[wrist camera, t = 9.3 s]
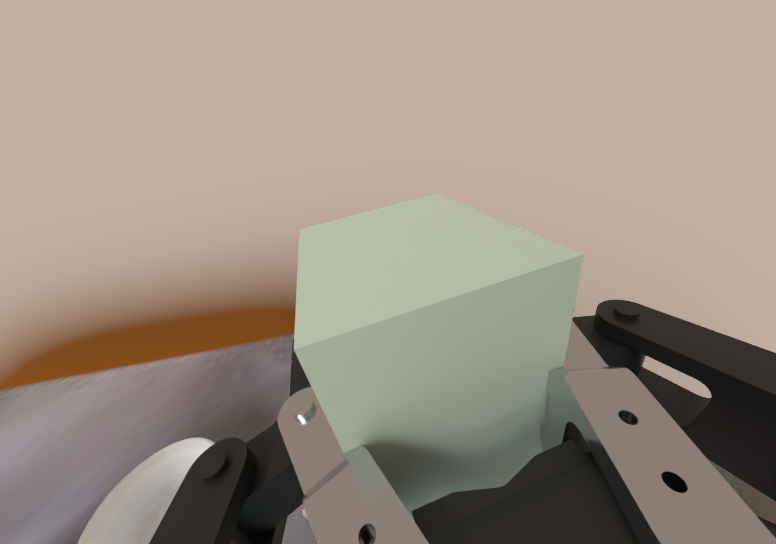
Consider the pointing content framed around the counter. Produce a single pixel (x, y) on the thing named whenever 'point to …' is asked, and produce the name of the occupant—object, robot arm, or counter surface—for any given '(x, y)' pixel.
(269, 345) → the counter surface
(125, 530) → the ramekin
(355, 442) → the green block
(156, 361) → the counter surface
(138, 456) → the counter surface
